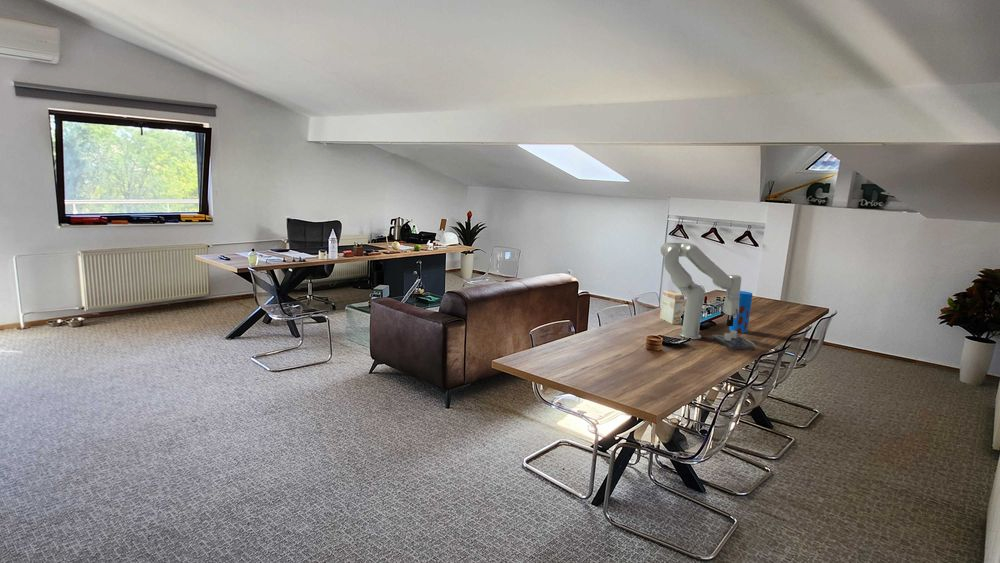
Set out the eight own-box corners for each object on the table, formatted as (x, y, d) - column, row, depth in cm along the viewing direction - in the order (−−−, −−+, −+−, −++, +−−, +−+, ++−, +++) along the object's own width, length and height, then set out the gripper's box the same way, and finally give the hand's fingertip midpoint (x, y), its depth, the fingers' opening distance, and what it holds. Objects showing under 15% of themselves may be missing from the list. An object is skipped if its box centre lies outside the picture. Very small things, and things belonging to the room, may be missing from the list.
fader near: (724, 339, 324) (725, 332, 323) (727, 339, 324) (728, 332, 324) (726, 340, 321) (727, 333, 320) (730, 340, 321) (731, 333, 321)
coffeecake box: (681, 324, 363) (684, 295, 360) (671, 324, 361) (675, 295, 358) (668, 318, 377) (671, 290, 374) (659, 318, 375) (662, 290, 372)
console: (710, 338, 334) (711, 332, 333) (732, 338, 336) (733, 332, 335) (731, 349, 312) (732, 343, 312) (754, 349, 315) (755, 343, 314)
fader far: (729, 336, 330) (730, 329, 329) (733, 336, 330) (734, 330, 329) (732, 338, 327) (733, 331, 326) (736, 338, 327) (737, 331, 326)
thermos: (729, 327, 362) (734, 289, 357) (747, 330, 357) (752, 292, 353) (728, 331, 352) (733, 292, 347) (746, 334, 348) (752, 295, 343)
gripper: (720, 293, 337) (717, 322, 341) (733, 298, 323) (730, 329, 326) (731, 293, 338) (728, 322, 342) (745, 298, 324) (742, 329, 327)
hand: (729, 325), depth 334 cm, fingers closed
